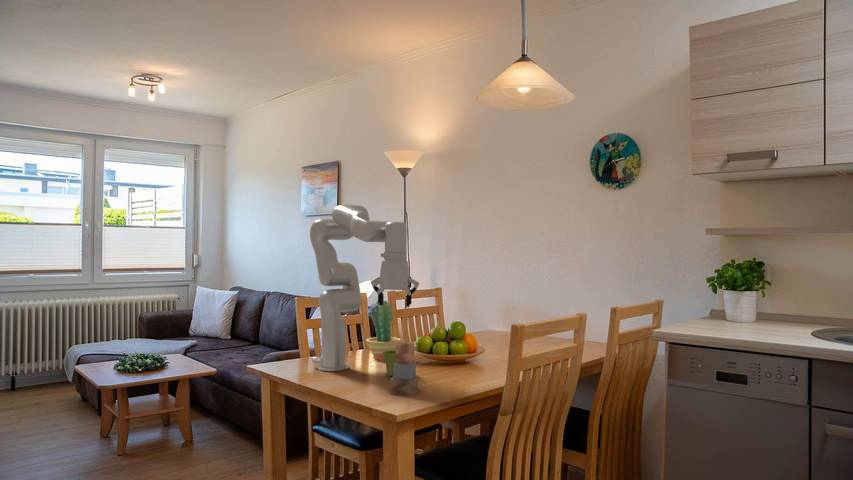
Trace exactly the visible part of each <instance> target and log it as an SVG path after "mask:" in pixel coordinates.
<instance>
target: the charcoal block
mask: <svg viewBox="0 0 853 480" xmlns="http://www.w3.org/2000/svg"><path fill="white" fill-rule="evenodd" d="M416 364H417V361H415V360H414V362H412V363H411V364H399V363H396V362H395V363H394V364H393V376H392V377H393V379H403V380H411V379H412V378H414V377H415V376H416V375H417V365H416Z"/></svg>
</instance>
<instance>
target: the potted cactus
mask: <svg viewBox="0 0 853 480" xmlns="http://www.w3.org/2000/svg"><path fill="white" fill-rule="evenodd" d="M367 314H368V317H370V318H371V320H372V323H373V326H374V330H375V334H376V336H375V337H374V336H373V337H368V338H366V339H365V340H366V344H367V345H368V347H369V351H370V352H371V354H372V355H373V357H372V358H373V360H380V361H383V360H385V358H384V354H383V352H384V351H389V350H396V345H397V344H399V343H401V341H402V340H401V338H399V337H395V336H393V337H392V334H391V333H392V332H391V322H392V319H393V309H392V307H391V305H390V304H389V302H388V301H387V300H384V301H383V305H381V306H379V303H378V300H377V301H376V302H375V303H372V304H370V305H369V307H368V309H367Z"/></svg>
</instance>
